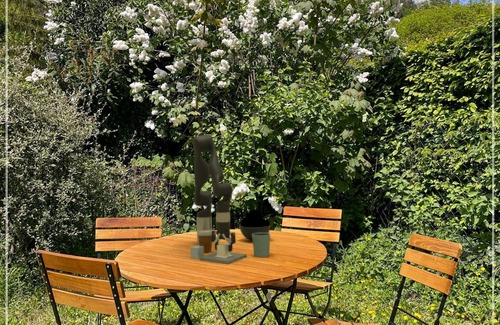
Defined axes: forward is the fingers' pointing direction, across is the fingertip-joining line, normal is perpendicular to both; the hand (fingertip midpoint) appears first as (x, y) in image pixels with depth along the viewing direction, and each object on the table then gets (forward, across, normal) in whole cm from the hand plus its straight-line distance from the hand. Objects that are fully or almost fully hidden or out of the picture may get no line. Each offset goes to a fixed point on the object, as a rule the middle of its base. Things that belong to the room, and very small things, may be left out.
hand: (223, 250), depth 233 cm
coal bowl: (+4, +11, -51) cm, 52 cm away
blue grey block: (+4, +14, +5) cm, 15 cm away
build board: (+4, 0, 0) cm, 4 cm away
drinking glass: (+4, -14, -16) cm, 22 cm away
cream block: (+3, 0, 0) cm, 3 cm away
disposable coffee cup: (+4, +19, -9) cm, 21 cm away
